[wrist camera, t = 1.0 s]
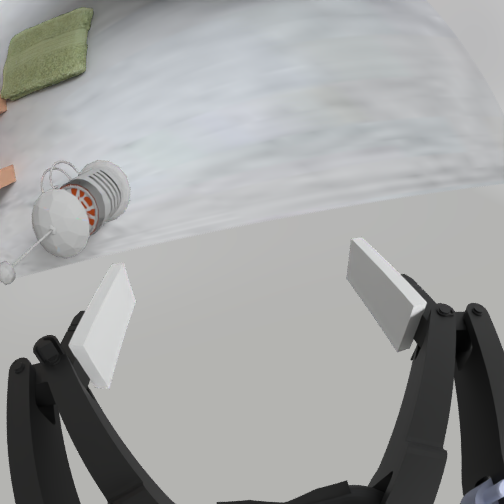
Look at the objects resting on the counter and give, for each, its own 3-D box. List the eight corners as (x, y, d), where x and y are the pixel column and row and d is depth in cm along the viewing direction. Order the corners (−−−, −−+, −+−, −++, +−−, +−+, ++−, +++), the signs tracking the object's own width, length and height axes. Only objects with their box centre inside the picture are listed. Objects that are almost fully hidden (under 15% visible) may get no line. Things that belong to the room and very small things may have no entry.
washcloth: (14, 38, 21) (4, 36, 19) (97, 6, 24) (90, 0, 21) (7, 104, 27) (-4, 105, 24) (89, 79, 29) (80, 76, 27)
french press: (93, 232, 40) (11, 338, 17) (60, 171, 34) (-54, 236, 12) (142, 204, 39) (69, 308, 17) (107, 137, 34) (-12, 173, 12)
